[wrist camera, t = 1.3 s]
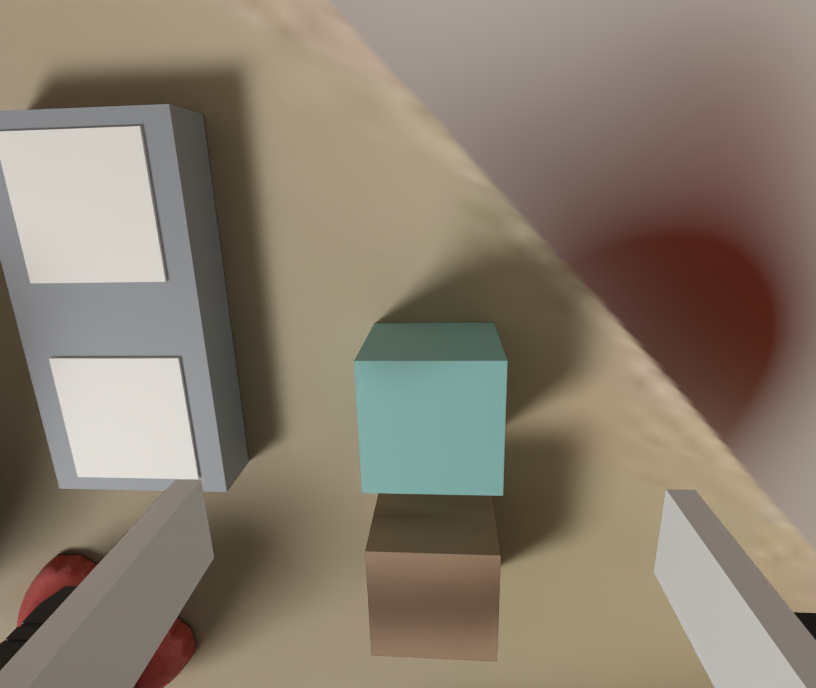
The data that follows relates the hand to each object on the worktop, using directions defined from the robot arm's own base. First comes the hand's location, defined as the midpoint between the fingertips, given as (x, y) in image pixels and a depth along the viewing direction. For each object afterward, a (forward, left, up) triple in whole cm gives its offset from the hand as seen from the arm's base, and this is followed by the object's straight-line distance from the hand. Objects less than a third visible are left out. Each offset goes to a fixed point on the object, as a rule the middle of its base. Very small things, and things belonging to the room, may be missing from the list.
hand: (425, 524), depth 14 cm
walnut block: (-9, 0, -12) cm, 15 cm away
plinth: (+4, +15, -12) cm, 20 cm away
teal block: (0, 0, -13) cm, 12 cm away
